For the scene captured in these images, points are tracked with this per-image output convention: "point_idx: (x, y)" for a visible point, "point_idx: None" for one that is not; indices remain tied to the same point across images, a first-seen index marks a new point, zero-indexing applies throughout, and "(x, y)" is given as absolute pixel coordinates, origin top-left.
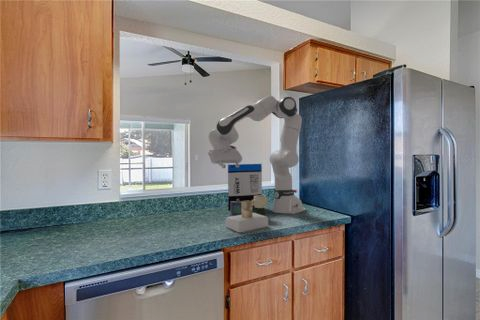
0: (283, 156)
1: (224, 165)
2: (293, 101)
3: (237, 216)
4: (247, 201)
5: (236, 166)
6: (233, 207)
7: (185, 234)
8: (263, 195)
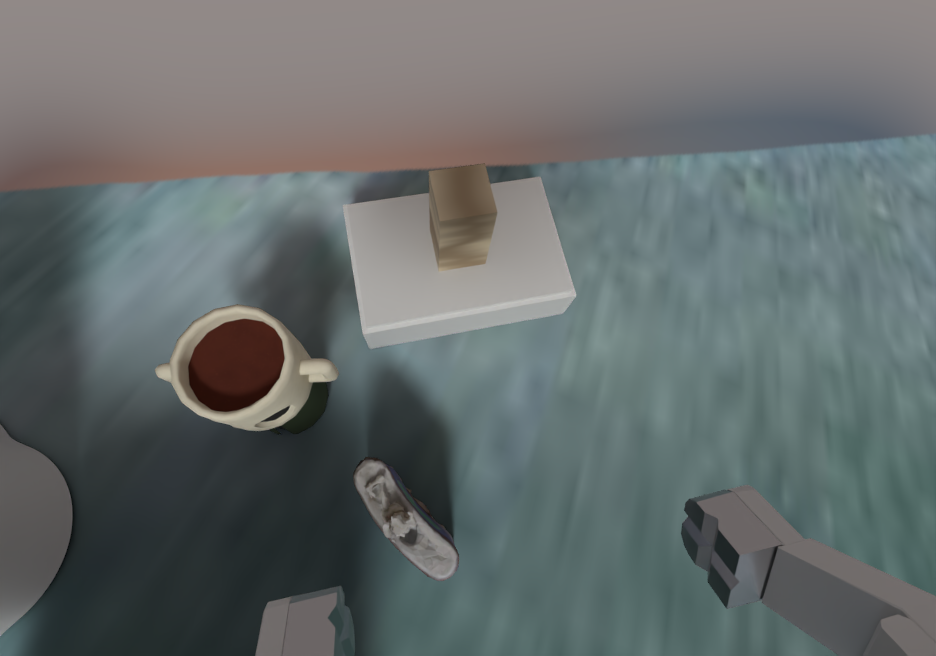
0: None
1: (732, 512)
2: None
3: (506, 278)
4: (461, 183)
5: (345, 633)
6: (438, 529)
7: (772, 279)
8: (178, 379)
